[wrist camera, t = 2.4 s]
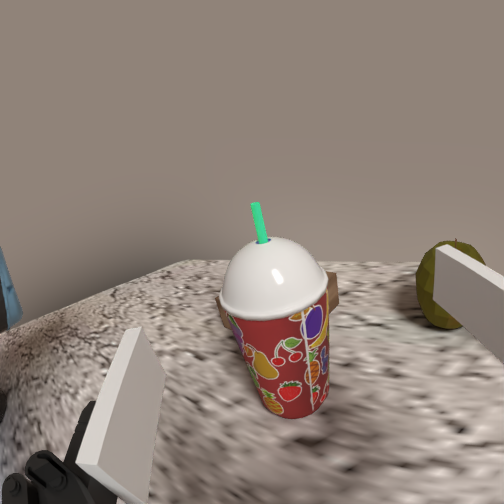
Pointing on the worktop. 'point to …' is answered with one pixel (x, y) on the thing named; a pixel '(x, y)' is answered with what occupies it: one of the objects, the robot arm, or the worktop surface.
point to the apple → (426, 285)
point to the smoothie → (280, 320)
